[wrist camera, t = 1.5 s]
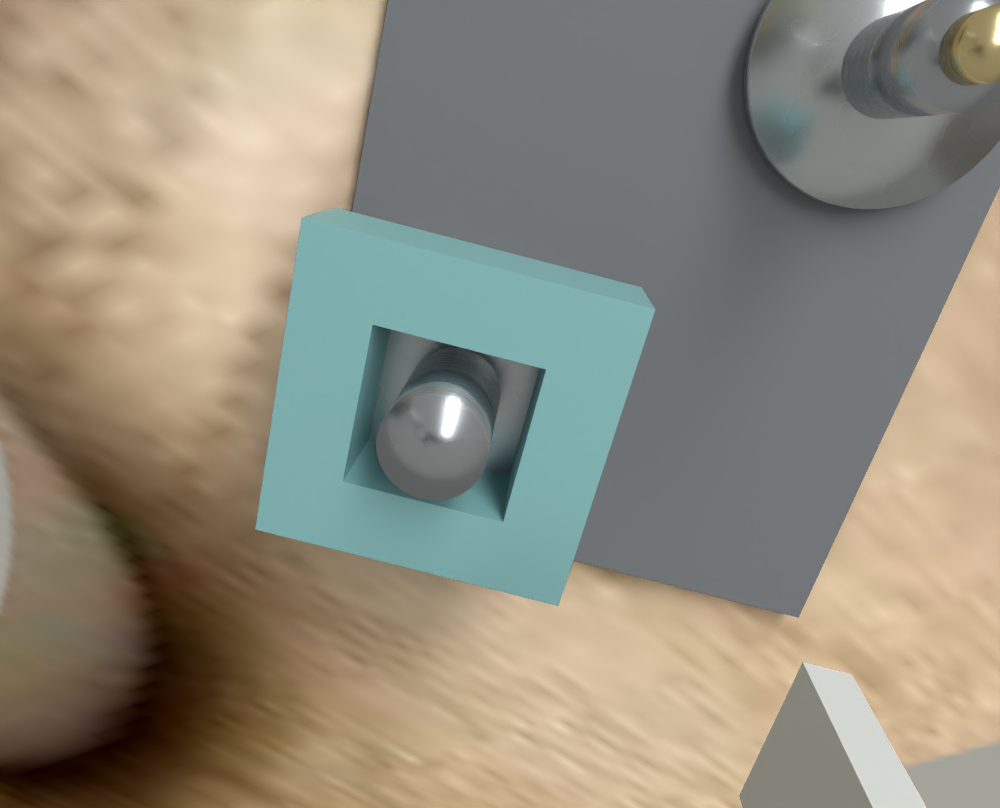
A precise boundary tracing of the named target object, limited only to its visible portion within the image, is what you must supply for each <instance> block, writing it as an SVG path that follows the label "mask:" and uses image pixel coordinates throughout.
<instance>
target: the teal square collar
mask: <svg viewBox="0 0 1000 808" xmlns="http://www.w3.org/2000/svg"><path fill="white" fill-rule="evenodd" d="M654 312H655V308H654V306H653V305H652V303H651V302H650V300H649V298H648V297H647V295H646V293H645V292H644V290H643V289H642V287H639V286H635V285H631V284H627V283H623V282H619V281H616V280H612V279H608V278H604V277H600V276H596V275H593V274H589V273H585V272H581V271H577V270H573V269H569V268H566V267H562V266H558V265H554V264H550V263H546V262H543V261H539V260H535V259H531V258H527V257H523V256H520V255H516V254H512V253H508V252H504V251H500V250H497V249H493V248H489V247H485V246H481V245H477V244H474V243H470V242H466V241H462V240H458V239H454V238H451V237H447V236H443V235H439V234H435V233H431V232H428V231H424V230H420V229H416V228H412V227H408V226H405V225H401V224H397V223H393V222H389V221H385V220H382V219H378V218H374V217H370V216H366V215H362V214H359V213H355V212H351V211H347V210H343V209H339V208H333V209H329V210H326V211H322V212H319V213H315V214H312V215H308V216H305V217H302V219H301V225H300V232H299V239H298V246H297V252H296V259H295V266H294V273H293V279H292V286H291V293H290V300H289V306H288V313H287V320H286V327H285V333H284V340H283V347H282V354H281V360H280V367H279V374H278V381H277V387H276V394H275V401H274V408H273V414H272V421H271V428H270V435H269V441H268V448H267V455H266V462H265V468H264V475H263V482H262V489H261V495H260V502H259V509H258V516H257V522H256V530H259V531H263V532H267V533H271V534H275V535H279V536H283V537H287V538H291V539H295V540H299V541H303V542H307V543H311V544H315V545H319V546H323V547H327V548H331V549H335V550H339V551H343V552H347V553H351V554H354V555H358V556H362V557H366V558H370V559H374V560H378V561H382V562H386V563H390V564H394V565H398V566H402V567H406V568H410V569H414V570H418V571H422V572H426V573H430V574H434V575H438V576H442V577H446V578H449V579H453V580H457V581H461V582H465V583H469V584H473V585H477V586H481V587H485V588H489V589H493V590H497V591H501V592H505V593H509V594H513V595H517V596H521V597H525V598H529V599H533V600H537V601H541V602H544V603H548V604H552V605H556V606H559V603H560V600H561V596H562V593H563V590H564V587H565V584H566V581H567V578H568V575H569V572H570V569H571V566H572V563H573V560H574V557H575V554H576V551H577V548H578V545H579V541H580V538H581V535H582V532H583V529H584V526H585V523H586V520H587V517H588V514H589V511H590V508H591V505H592V502H593V499H594V496H595V493H596V490H597V486H598V483H599V480H600V477H601V474H602V471H603V468H604V465H605V462H606V459H607V456H608V453H609V450H610V447H611V444H612V441H613V438H614V434H615V431H616V428H617V425H618V422H619V419H620V416H621V413H622V410H623V407H624V404H625V401H626V398H627V395H628V392H629V389H630V386H631V383H632V379H633V376H634V373H635V370H636V367H637V364H638V361H639V358H640V355H641V352H642V349H643V346H644V343H645V340H646V337H647V334H648V331H649V328H650V324H651V321H652V318H653V315H654ZM390 330H395V331H399V332H403V333H407V334H411V335H414V336H418V337H422V338H426V339H430V340H434V341H438V342H442V343H445V344H449V345H453V346H457V347H461V348H465V349H469V350H473V351H476V352H480V353H484V354H488V355H492V356H496V357H500V358H504V359H507V360H511V361H515V362H519V363H523V364H527V365H531V366H535V367H538V368H539V372H538V375H537V379H536V382H535V386H534V389H533V393H532V397H531V400H530V404H529V407H528V411H527V415H526V418H525V422H524V425H523V429H522V433H521V436H520V440H519V443H518V447H517V450H516V454H515V458H514V461H513V465H512V468H511V472H510V476H506V475H502V474H498V473H494V472H490V471H486V470H484V471H483V473H482V475H481V477H480V478H479V480H478V481H477V482H476V483H475V484H474V485H473V486H472V487H471V488H470V489H469V490H467V491H466V492H464V493H463V494H461V495H458V496H456V497H453V498H450V499H445V500H426V499H421V498H417V497H414V496H412V495H410V494H407V493H406V492H404V491H402V490H401V489H399V488H398V487H397V486H395V485H394V484H393V483H392V482H391V481H390V480H389V478H388V477H387V476H386V475H385V473H384V471H383V470H382V468H381V465H380V463H379V460H378V457H377V451H376V442H372V441H369V435H370V430H371V425H372V420H373V415H374V410H375V405H376V400H377V395H378V390H379V385H380V380H381V375H382V370H383V365H384V360H385V355H386V350H387V345H388V340H389V335H390Z"/></svg>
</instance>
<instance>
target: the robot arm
mask: <svg viewBox="0 0 1000 808" xmlns="http://www.w3.org/2000/svg"><path fill="white" fill-rule="evenodd" d="M739 796H740V799H741V803H742V806H743V808H926V806H925V804H924V802H923V801H922V799H921V797H920V795H919V793H918V792H917V790H916V788H915V786H914V784H913V783H912V781H911V779H910V777H909V776H908V774H907V772H906V770H905V768H904V767H903V765H902V763H901V761H900V760H899V758H898V756H897V754H896V752H895V751H894V749H893V747H892V745H891V744H890V742H889V740H888V738H887V736H886V735H885V733H884V731H883V729H882V727H881V726H880V724H879V722H878V720H877V719H876V717H875V715H874V713H873V711H872V710H871V708H870V706H869V704H868V703H867V701H866V699H865V697H864V695H863V694H862V692H861V690H860V688H859V687H858V685H857V683H856V681H855V679H854V678H853V676H852V674H848V673H844V672H840V671H836V670H832V669H828V668H824V667H820V666H816V665H812V664H808V663H804V662H803V663H802V665H801V667H800V669H799V671H798V673H797V675H796V678H795V680H794V682H793V684H792V686H791V688H790V690H789V692H788V694H787V696H786V699H785V701H784V703H783V705H782V707H781V709H780V711H779V713H778V715H777V718H776V720H775V722H774V724H773V726H772V728H771V730H770V732H769V734H768V736H767V739H766V741H765V743H764V745H763V747H762V749H761V751H760V753H759V755H758V758H757V760H756V762H755V764H754V766H753V768H752V770H751V772H750V774H749V776H748V779H747V781H746V783H745V785H744V787H743V789H742V791H741V793H740V795H739Z"/></svg>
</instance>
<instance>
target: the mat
mask: <svg viewBox="0 0 1000 808" xmlns="http://www.w3.org/2000/svg"><path fill="white" fill-rule="evenodd" d="M766 2H767V0H388V4H387V10H386V15H385V21H384V27H383V33H382V39H381V45H380V50H379V56H378V62H377V68H376V74H375V80H374V85H373V91H372V97H371V103H370V109H369V115H368V121H367V126H366V132H365V138H364V144H363V150H362V156H361V161H360V167H359V173H358V179H357V185H356V191H355V196H354V202H353V208H352V212H355V213H359V214H362V215H366V216H370V217H374V218H378V219H382V220H385V221H389V222H393V223H397V224H401V225H405V226H408V227H412V228H416V229H420V230H424V231H428V232H431V233H435V234H439V235H443V236H447V237H451V238H454V239H458V240H462V241H466V242H470V243H474V244H477V245H481V246H485V247H489V248H493V249H497V250H500V251H504V252H508V253H512V254H516V255H520V256H523V257H527V258H531V259H535V260H539V261H543V262H546V263H550V264H554V265H558V266H562V267H566V268H569V269H573V270H577V271H581V272H585V273H589V274H593V275H596V276H600V277H604V278H608V279H612V280H616V281H619V282H623V283H627V284H631V285H635V286H639V287H642V289H643V290H644V292H645V293H646V295H647V297H648V298H649V300H650V302H651V303H652V305H653V306H654V308H655V312H654V315H653V318H652V321H651V324H650V328H649V331H648V334H647V337H646V340H645V343H644V346H643V349H642V352H641V355H640V358H639V361H638V364H637V367H636V370H635V373H634V376H633V379H632V383H631V386H630V389H629V392H628V395H627V398H626V401H625V404H624V407H623V410H622V413H621V416H620V419H619V422H618V425H617V428H616V431H615V434H614V438H613V441H612V444H611V447H610V450H609V453H608V456H607V459H606V462H605V465H604V468H603V471H602V474H601V477H600V480H599V483H598V486H597V490H596V493H595V496H594V499H593V502H592V505H591V508H590V511H589V514H588V517H587V520H586V523H585V526H584V529H583V532H582V535H581V538H580V541H579V545H578V548H577V551H576V554H575V557H574V561H577V562H581V563H585V564H589V565H593V566H597V567H601V568H605V569H609V570H613V571H617V572H621V573H625V574H629V575H633V576H637V577H640V578H644V579H648V580H652V581H656V582H660V583H664V584H668V585H672V586H676V587H680V588H684V589H688V590H692V591H696V592H700V593H704V594H707V595H711V596H715V597H719V598H723V599H727V600H731V601H735V602H739V603H743V604H747V605H751V606H755V607H759V608H763V609H767V610H771V611H774V612H778V613H782V614H786V615H790V616H794V617H799V615H800V613H801V611H802V609H803V607H804V605H805V602H806V600H807V598H808V596H809V594H810V592H811V590H812V587H813V585H814V583H815V581H816V579H817V577H818V575H819V572H820V570H821V568H822V566H823V564H824V562H825V560H826V557H827V555H828V553H829V551H830V549H831V547H832V545H833V542H834V540H835V538H836V536H837V534H838V532H839V530H840V527H841V525H842V523H843V521H844V519H845V517H846V515H847V512H848V510H849V508H850V506H851V504H852V502H853V500H854V497H855V495H856V493H857V491H858V489H859V487H860V485H861V482H862V480H863V478H864V476H865V474H866V472H867V470H868V467H869V465H870V463H871V461H872V459H873V457H874V455H875V452H876V450H877V448H878V446H879V444H880V442H881V440H882V438H883V435H884V433H885V431H886V429H887V427H888V425H889V423H890V420H891V418H892V416H893V414H894V412H895V410H896V408H897V405H898V403H899V401H900V399H901V397H902V395H903V393H904V390H905V388H906V386H907V384H908V382H909V380H910V378H911V375H912V373H913V371H914V369H915V367H916V365H917V363H918V360H919V358H920V356H921V354H922V352H923V350H924V348H925V345H926V343H927V341H928V339H929V337H930V335H931V333H932V330H933V328H934V326H935V324H936V322H937V320H938V318H939V315H940V313H941V311H942V309H943V307H944V305H945V303H946V300H947V298H948V296H949V294H950V292H951V290H952V288H953V285H954V283H955V281H956V279H957V277H958V275H959V273H960V270H961V268H962V266H963V264H964V262H965V260H966V258H967V255H968V253H969V251H970V249H971V247H972V245H973V243H974V240H975V238H976V236H977V234H978V232H979V230H980V228H981V225H982V223H983V221H984V219H985V217H986V215H987V213H988V210H989V208H990V206H991V204H992V202H993V200H994V198H995V196H996V193H997V191H998V189H999V187H1000V140H999V142H998V143H997V144H996V145H995V146H994V147H993V149H992V150H991V151H990V152H989V153H988V155H986V156H985V157H984V158H983V159H982V160H981V161H980V162H979V163H978V164H977V165H976V166H975V167H974V168H973V169H972V170H970V171H969V172H968V173H966V174H965V175H964V176H962V177H961V178H960V179H959V180H957V181H956V182H954V183H952V184H951V185H949V186H947V187H946V188H944V189H942V190H941V191H939V192H937V193H934V194H932V195H930V196H928V197H926V198H924V199H921V200H918V201H915V202H912V203H909V204H906V205H901V206H896V207H891V208H883V209H871V210H870V209H853V208H847V207H842V206H837V205H832V204H828V203H824V202H821V201H818V200H815V199H812V198H809V197H808V196H806V195H804V194H802V193H800V192H798V191H796V190H794V189H793V188H792V187H790V186H789V185H787V184H786V183H785V182H783V181H782V180H781V179H780V178H779V177H778V176H777V175H776V174H775V173H774V172H773V171H772V170H771V169H770V167H769V166H768V165H767V164H766V162H765V161H764V160H763V158H762V157H761V155H760V153H759V151H758V150H757V148H756V146H755V144H754V142H753V140H752V137H751V134H750V132H749V129H748V126H747V122H746V118H745V114H744V107H743V98H742V74H743V67H744V60H745V55H746V51H747V47H748V43H749V40H750V36H751V34H752V31H753V29H754V26H755V24H756V21H757V19H758V17H759V15H760V13H761V11H762V9H763V7H764V5H765V4H766Z"/></svg>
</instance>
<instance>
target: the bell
mask: <svg viewBox="0 0 1000 808" xmlns="http://www.w3.org/2000/svg"><path fill="white" fill-rule="evenodd" d="M742 98H743V107H744V114H745V118H746V122H747V126H748V129H749V132H750V134H751V137H752V140H753V142H754V144H755V146H756V148H757V150H758V151H759V153H760V155H761V157H762V158H763V160H764V161H765V162H766V164H767V165H768V166H769V167H770V169H771V170H772V171H773V172H774V173H775V174H776V175H777V176H778V177H779V178H780V179H781V180H782V181H783V182H785V183H786V184H787V185H789V186H790V187H792V188H793V189H794V190H796V191H798V192H800V193H802V194H804V195H806V196H808V197H809V198H812V199H815V200H818V201H821V202H824V203H828V204H832V205H837V206H842V207H847V208H853V209H870V210H871V209H883V208H891V207H896V206H901V205H906V204H909V203H912V202H915V201H918V200H921V199H924V198H926V197H928V196H930V195H932V194H934V193H937V192H939V191H941V190H942V189H944V188H946V187H947V186H949V185H951V184H952V183H954V182H956V181H957V180H959V179H960V178H961V177H962V176H964V175H965V174H966V173H968V172H969V171H970V170H972V169H973V168H974V167H975V166H976V165H977V164H978V163H979V162H980V161H981V160H982V159H983V158H984V157H985V156H986V155H988V153H989V152H990V151H991V150H992V149H993V147H994V146H995V145H996V144H997V143H998V142H999V140H1000V0H767V2H766V4H765V5H764V7H763V9H762V11H761V13H760V15H759V17H758V19H757V21H756V24H755V26H754V29H753V31H752V34H751V36H750V40H749V43H748V47H747V51H746V55H745V60H744V67H743V74H742Z"/></svg>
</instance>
